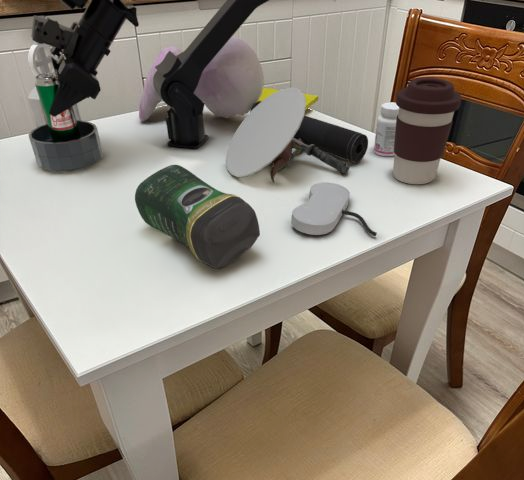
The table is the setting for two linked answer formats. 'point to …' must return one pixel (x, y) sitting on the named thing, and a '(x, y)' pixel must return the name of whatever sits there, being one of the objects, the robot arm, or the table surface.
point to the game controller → (324, 210)
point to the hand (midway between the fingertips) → (50, 110)
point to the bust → (217, 81)
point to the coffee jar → (197, 215)
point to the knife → (323, 156)
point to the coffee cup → (423, 128)
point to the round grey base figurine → (267, 134)
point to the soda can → (65, 122)
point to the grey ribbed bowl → (66, 148)
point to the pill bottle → (386, 130)
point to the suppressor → (331, 138)
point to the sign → (267, 91)
